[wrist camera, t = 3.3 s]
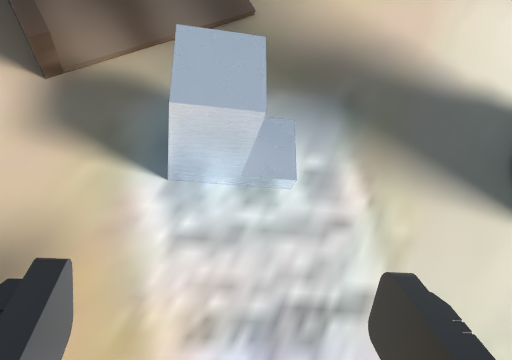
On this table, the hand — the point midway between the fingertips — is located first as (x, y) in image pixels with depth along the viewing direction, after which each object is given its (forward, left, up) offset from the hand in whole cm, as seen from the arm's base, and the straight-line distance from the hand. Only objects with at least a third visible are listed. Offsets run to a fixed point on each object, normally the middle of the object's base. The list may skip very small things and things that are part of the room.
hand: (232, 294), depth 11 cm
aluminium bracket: (-7, -9, -14) cm, 18 cm away
